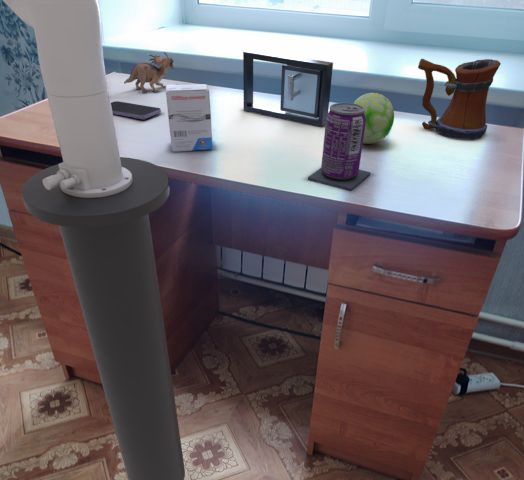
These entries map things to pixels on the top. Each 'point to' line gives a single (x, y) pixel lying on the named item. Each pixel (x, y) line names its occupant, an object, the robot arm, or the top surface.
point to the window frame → (290, 61)
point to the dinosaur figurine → (151, 72)
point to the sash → (300, 90)
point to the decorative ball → (376, 116)
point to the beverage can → (343, 140)
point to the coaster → (344, 184)
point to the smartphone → (133, 110)
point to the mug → (461, 98)
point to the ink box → (189, 117)
